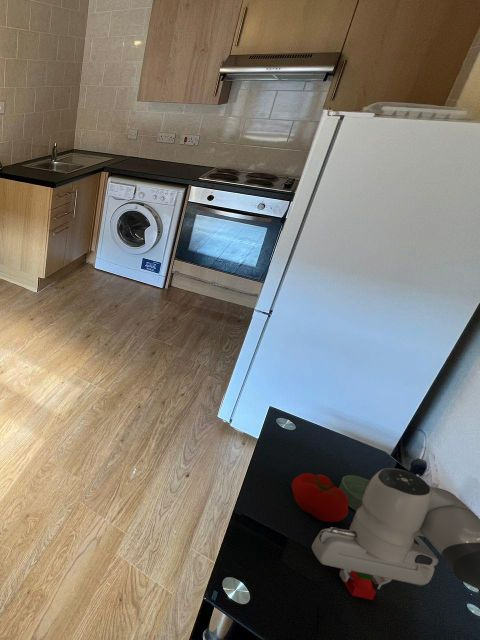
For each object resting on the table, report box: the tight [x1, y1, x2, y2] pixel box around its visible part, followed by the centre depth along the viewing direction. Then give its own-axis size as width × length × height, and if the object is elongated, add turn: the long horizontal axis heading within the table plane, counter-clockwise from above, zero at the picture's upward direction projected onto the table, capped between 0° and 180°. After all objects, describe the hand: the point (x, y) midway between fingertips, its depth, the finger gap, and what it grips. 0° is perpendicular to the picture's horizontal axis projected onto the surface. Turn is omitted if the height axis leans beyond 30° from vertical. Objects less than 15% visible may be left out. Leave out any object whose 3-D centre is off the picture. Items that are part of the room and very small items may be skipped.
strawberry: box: [342, 571, 377, 601], centre depth 91 cm, size 4×4×5 cm
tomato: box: [291, 472, 349, 523], centre depth 109 cm, size 11×12×9 cm
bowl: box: [338, 474, 371, 512], centre depth 112 cm, size 11×11×4 cm
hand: (358, 582), depth 91 cm, fingers closed on strawberry, 4 cm apart
